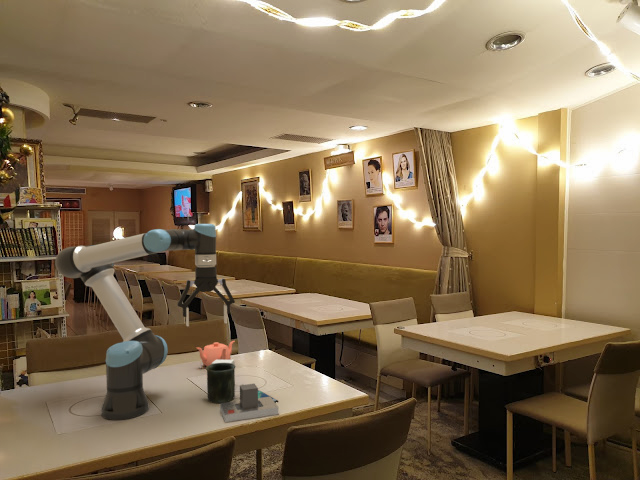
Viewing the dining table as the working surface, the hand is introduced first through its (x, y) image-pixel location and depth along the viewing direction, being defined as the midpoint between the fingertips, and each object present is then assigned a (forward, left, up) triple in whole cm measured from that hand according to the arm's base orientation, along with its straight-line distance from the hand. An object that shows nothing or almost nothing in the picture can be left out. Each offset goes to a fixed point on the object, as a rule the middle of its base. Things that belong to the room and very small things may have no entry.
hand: (206, 324), depth 171 cm
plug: (+12, -15, -29) cm, 35 cm away
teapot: (+10, +45, -29) cm, 54 cm away
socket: (+12, -15, -29) cm, 35 cm away
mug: (+5, +4, -29) cm, 30 cm away
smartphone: (+19, -3, -29) cm, 35 cm away
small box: (+8, +15, -29) cm, 34 cm away
